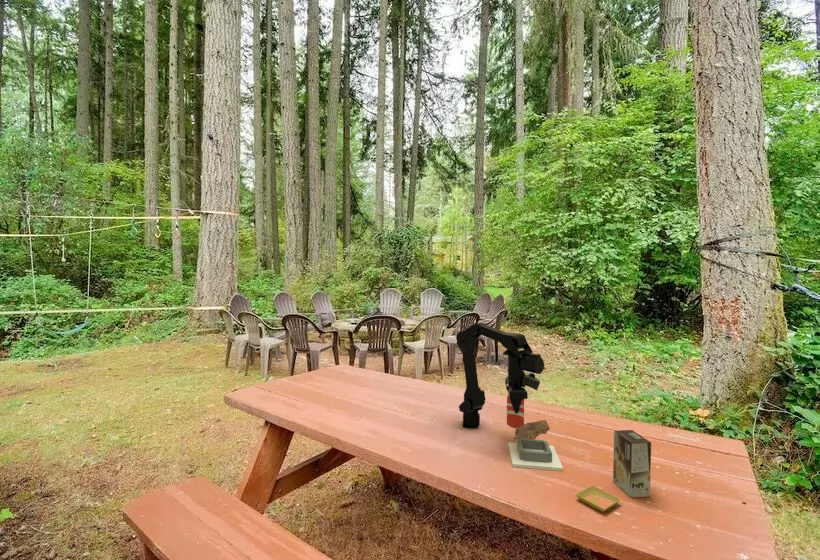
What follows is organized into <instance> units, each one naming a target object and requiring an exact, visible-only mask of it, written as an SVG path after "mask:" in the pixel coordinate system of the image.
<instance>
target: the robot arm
mask: <svg viewBox="0 0 820 560" xmlns="http://www.w3.org/2000/svg"><path fill="white" fill-rule="evenodd" d="M455 336H456V337H455V339H456V344H457V348H458V349H459V351H461V354H462V361H463V368H464V377H465V384H466V387H465V390H464V393H463V402H461V403H460V404H459V405H458V408H459V409H458V410H459V412H461V413H462V428H469V429H470V428H471V429H479V426H480V424H481V423H480V419H481V418H480V416H481V415H480V413H479V411H481V410H483V407H484V405H485V404H486V401H487V400H486V396H485V392H486V391H485V390H483V389H481V387H480V386H479V380H478V379H479V378H478V372H477V371H478V369H477V362H476V355H475V350H476V348H477V345H478V339H479V338H480V337H481V336H483V337H486V338H488V339H490V340H493V341H495V342H498V343H500V344H501V345H502V347H503V348H505V349H506V350H505V351H503V352H502V355H503V356H504V355H505V356H507V369H506V372H507V376H506V377H505V378H504V384H505V388H506V391H507V393H508V394H507V396H508V395H509V398H510V401H511V404H512V406H513V409H514V412H515V413H518V412H519V408H520V404H521V401H522V400H523V399H524V400H527V399H528V391H527V389H526V387H528V388H531V389H533V390H535V391H538V389H539V387H540V384H541V382H540V381H541V380H540V379H539V378H538V377H536V375H535V374H537V375H541V374H542V373H543V371H544V369H545V362H544V360H543V358H542V355H541V354H540V353H533V350H532V348H531V347H530V345H529V342H528V341H527V338H526V336H525V335H524V334H522V333H518V332H508V331H507V332H506V331H503V330H501V329H498V328H495V327H493V326H490V325H488V324H485V323H483V322H477V323H476V322H475V323H474V324H472V325H471V326H470V327H467V328H465V329H463V330H461V331H459V332H458V333H457V334H456V335H455ZM525 372H529V373H528V374H526V373H525Z"/></svg>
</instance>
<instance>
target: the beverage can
mask: <svg viewBox="0 0 820 560" xmlns="http://www.w3.org/2000/svg"><path fill="white" fill-rule="evenodd" d="M524 424H525V399H523V400H522V401H521V404H520V408H519V412H518V413H515V412H514V409H513V406H512V404H511V401H510V398H509V395H508V394H507V397H506V425H507V426H509V427H510V428H512V429H516V428H521V427H523V426H524Z"/></svg>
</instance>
